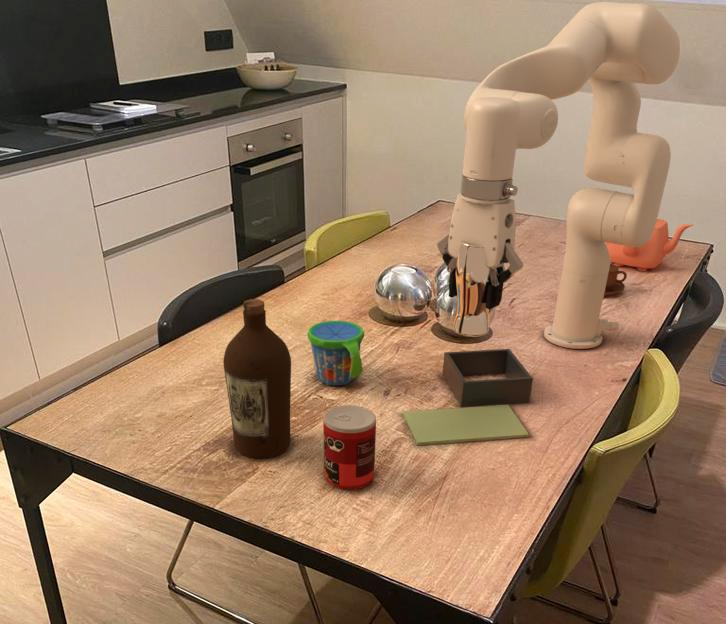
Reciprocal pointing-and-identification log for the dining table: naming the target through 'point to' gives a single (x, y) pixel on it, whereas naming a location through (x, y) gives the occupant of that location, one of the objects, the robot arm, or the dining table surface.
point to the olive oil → (258, 386)
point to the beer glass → (471, 291)
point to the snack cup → (336, 351)
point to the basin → (487, 390)
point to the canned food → (349, 446)
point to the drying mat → (464, 424)
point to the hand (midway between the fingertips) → (473, 300)
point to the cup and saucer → (614, 281)
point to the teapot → (647, 248)
